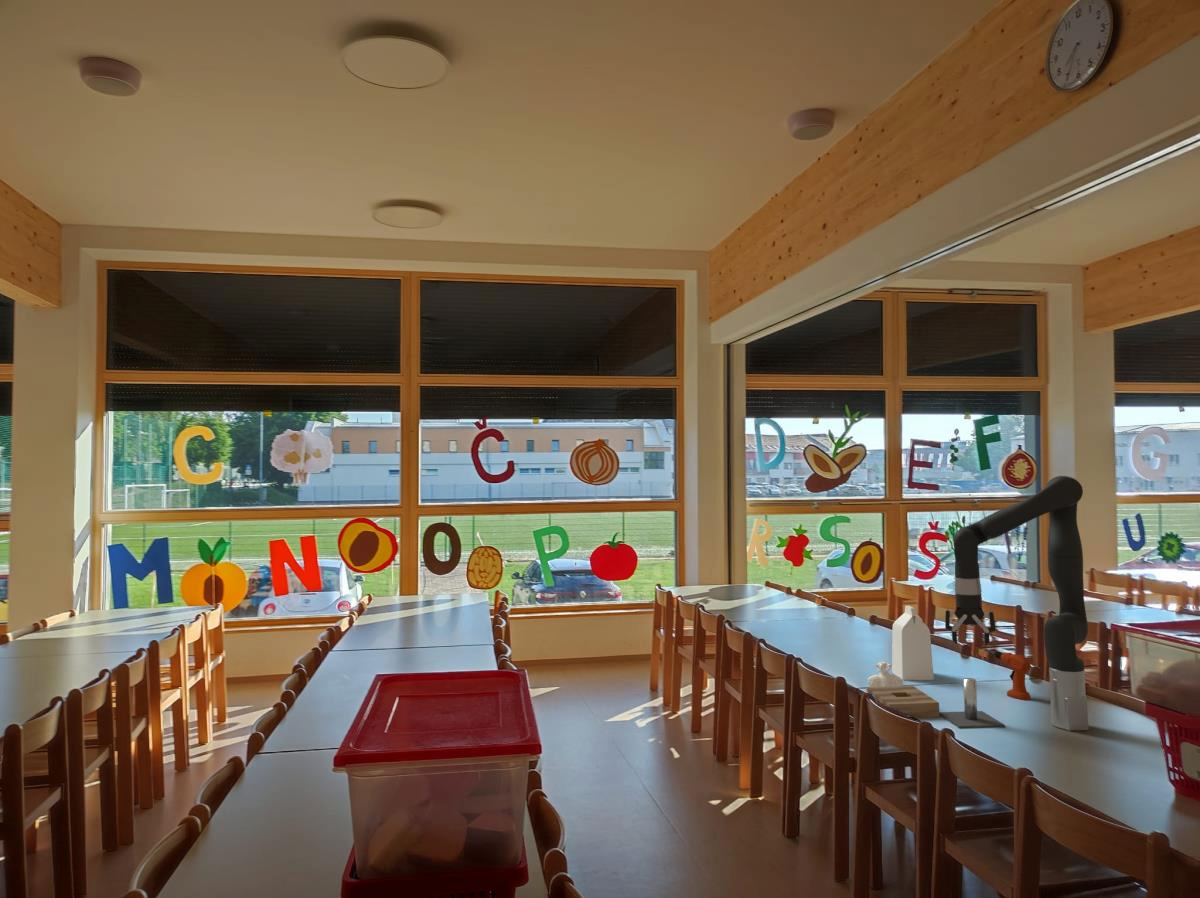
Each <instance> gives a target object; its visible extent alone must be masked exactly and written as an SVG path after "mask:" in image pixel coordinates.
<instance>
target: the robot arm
mask: <svg viewBox="0 0 1200 898" xmlns="http://www.w3.org/2000/svg"><path fill="white" fill-rule="evenodd" d="M1083 494H1084V490H1083V486H1082V484H1081V483H1080V481H1078V480H1077V479H1075V478H1074V477H1072V476H1068V475H1067V476H1066V475H1058V476H1055V477H1052V478H1051V479H1050V480H1049V481H1048V482H1047V483H1046V485H1045V487H1044V488H1043V489H1041V490H1039V491H1038V492H1036V493H1035V494H1033V495H1031V496H1030V497H1027V498H1026V499H1022V500H1021V501H1019V502H1016V503H1013V504H1011V505H1008V506H1005V507H1003V508H1001V509H999V510H997V511H995V512H993V513H991V514H989V515H987V516H985V517H983V518H982V519H980V520H978V521H975V522H973V523H971V524H968V525H966V526H964V527H962V528H959V529H957V531H956V532H954V534H953V538H952V539H953V551H954V559H955V562H954V593H955V594H954V595H955V598H954V599H955V609H954V610H949V609H946V610H945V616H944V619H945V630H949V631H950V632H951V638H952V639H951V641H952V642H953V643H954V644H955V645H957V644H958V634H957V633H958V631H957V630H958V629H959V628H960V626H961V625H966V626H970V625H971V626H976V625H978V626H979V627H980V628H981V629H982V630H983V631H984V632H983V640H984V646H988V644H990V633H992V632H995V631H996V624H995V622H996V621H995V616H994V615H995V613H994V612H993V610H989V611H984V610H983V601H982V600H983V599H982V598H983V597H982V592H983V591H982V584H981V579H980V566H979V546H980V545H981V544H984V543H986V542H988V541H989V540H994V539H996V538H999V537H1001V536H1003V535H1005V534H1007V533H1009V532H1011V531H1013V530H1015V529H1017V528H1018V527H1020V526H1023V525H1024V524H1026V523H1028V522H1030V521H1032V520H1035V519H1036V518H1038V517H1041V516H1044V515H1046V514H1048V518H1049V519H1048V521H1049V524H1048V525H1049V526H1048V535H1047V537H1048V538H1047V568H1048V569H1047V570H1048V573H1049V576H1050V579H1051V581H1052V584H1054V587H1055V589H1056V592H1057V595H1058V600H1059V614H1058V615H1057V614H1056V615H1054V616H1051V617H1048V619H1047V620H1046V621H1045V623H1044V626H1043V640H1044V641H1043V642H1044V653H1045V657H1046V658H1047V661H1048V666H1049V667H1048V669H1049V671H1048V672H1049V689H1050V690H1049V694H1050V695H1049V696H1050V714H1051V715H1050V716H1051V717H1050V718H1051V725H1052V726H1054V727H1056V728H1059V729H1063V730H1066V731H1089V712H1088V711H1089V707H1088V698H1087V697H1086V678H1085V677H1086V675H1085V671H1086V670H1085V661H1084V660H1083V659H1082V658H1080V657H1078V655H1077V651H1076V650H1077V649H1076V645H1078V644H1081V643H1083V642H1084V641H1086V639H1087V637H1088V633H1089V626H1088V620H1087V619H1088V617H1087V612H1086V606H1085V605H1086V604H1085V597H1084V596H1085V593H1084V591H1085V590H1084V588H1085V587H1084V586H1085V585H1084V552H1083V546H1082V540H1081V536H1080V532H1079V531H1080V530H1079V527H1078V519H1077V518H1078V517H1077V516H1078V502H1079V501H1081V500H1082V497H1083ZM953 615H955V617H957V620H956V622H955V623H954V624H952V625H950V622H951V621H950V619H951V618H953ZM984 616H985V617H986V618H987V620H989V624H990V625H989V627H988V626H987V625H986V624H985V623H984V621H982V619H983V618H984Z"/></svg>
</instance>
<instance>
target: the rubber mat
mask: <svg viewBox="0 0 1200 898" xmlns="http://www.w3.org/2000/svg"><path fill="white" fill-rule="evenodd" d="M939 715H941V716H940V717H942V718H943V717H944V719H945V720H946V719H947V721H948V722H949V721H950V722H949V723H951V724H952V725H954V726H957V727H956V728H958V729H980V728H981V729H982V728H1005V727H1006V724H1005V723H1003V722H1001V721H999V720H998V719H996V718H994V717H993V716H991V715H989V714H987V713H986V712H985V711H983V710H977V718H978V719H977V720H968V719H965V710H963V711H941V712H940V711H939Z"/></svg>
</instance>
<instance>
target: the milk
mask: <svg viewBox="0 0 1200 898" xmlns="http://www.w3.org/2000/svg"><path fill="white" fill-rule="evenodd" d="M904 608H905V609H904V613H903V614H901V615H900V616H899V617H898V618H897V619H896V620H895V621H894V622H893V624H892V630H891V631H892V634H891V635H892V636H891V638H892V640H891V641H892V642H891V647H892V648H891V664H892V666H891V673H893V675H896V676H898V677H900V678H901V679H902V680H903V681H926V680H927V681H932V680H935V677H934V676H935V675H934V665H933V664H934V663H933V654H932V653H933V652H932V642H931V641H932V640H931V631H930V628H929V626H928V625H927V624H925V623H924V621H923V619H922V617H920V616H919V615H917V614H916V610H915V609H916V608H914V607H913V606H911V605H905V606H904Z"/></svg>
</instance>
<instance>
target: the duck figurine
mask: <svg viewBox="0 0 1200 898" xmlns="http://www.w3.org/2000/svg"><path fill="white" fill-rule="evenodd" d="M874 666H875V667H876V668H877V669H876V671H879V672H878V674H873V675H872V676H869V677H868V678H867V684H868V687H890V686H904V680H902V679H901V678H900V677H898V676H896V675H895V674H891V673H889V671H890V668H891V669H892V663H888V662H886V661H883V660H882V661H879V662H878V663H875V665H874Z"/></svg>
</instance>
